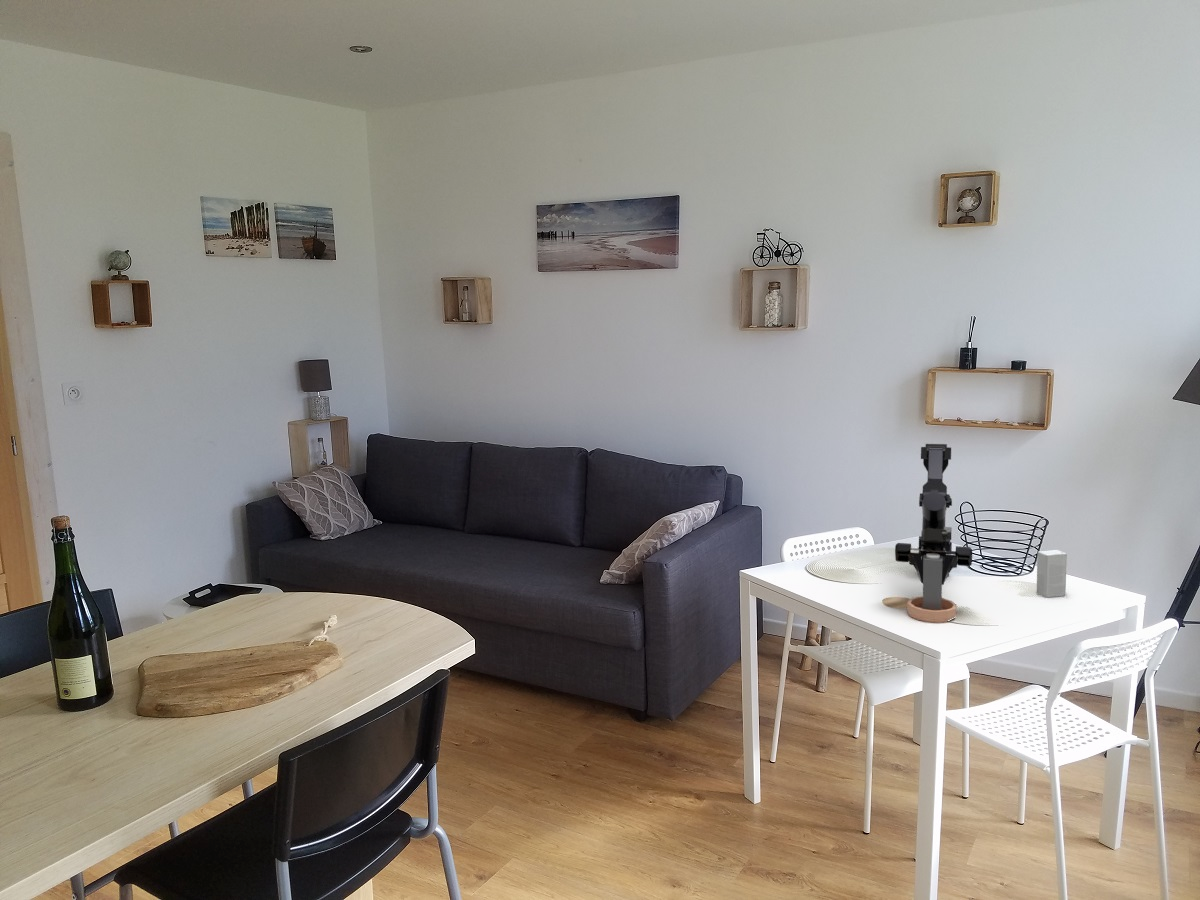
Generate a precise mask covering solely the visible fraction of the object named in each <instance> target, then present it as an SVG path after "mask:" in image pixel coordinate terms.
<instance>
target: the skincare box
mask: <svg viewBox="0 0 1200 900" xmlns="http://www.w3.org/2000/svg"><path fill="white" fill-rule="evenodd" d="M1067 555H1068V553H1066V552H1064V551H1061V550H1059V549H1052V550H1050V549H1049V550H1041V551H1040V550H1039V551H1037V556H1036V557H1037V561H1036V562H1037V563H1036V564H1037V566H1036V594H1037V593H1038V594H1037V595H1039V594H1040V596H1041V595H1042V596H1041V597H1043V598H1045V599H1046V598H1047V597H1048V598H1056V597H1061V596H1062V597H1064V596H1066V593H1067V591H1066V590H1067V586H1066V585H1067V566H1068V565H1067V562H1068V561H1067V559H1068V556H1067Z"/></svg>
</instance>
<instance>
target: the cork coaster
mask: <svg viewBox="0 0 1200 900" xmlns="http://www.w3.org/2000/svg"><path fill="white" fill-rule="evenodd" d="M909 599H910V598H908V597H903V596H891V597H885V598H883V599H882V601H881V603H882V604H883V605H884V606H886V607H889V608H891V609H892V608H893V609H900V610H901V609H903V610H905V609H906V610H907V603H908V601H909Z"/></svg>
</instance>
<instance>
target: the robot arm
mask: <svg viewBox="0 0 1200 900" xmlns="http://www.w3.org/2000/svg"><path fill="white" fill-rule="evenodd" d="M920 460H923V461H922V462H923V463H922V464H923V467H924V468H925V470H926V472H927V479H926V480H927V481H926V482H925V483H924V484H923V485H922V493H919V498H918V499H919V501H918V506H919V507H921V510H922V524H921V528H922V529H921V532H920V533H921V534H920V535H919V536H918V547H912V543H907V542H906V543H905V542H897V543H895V546H894V547H895V548H894V554H895V555H894V556H895V561H896V562H898V563H899V562H900V563H908V565H910V566H913V568H914V569H915V571H916V572H917V576H918V578H919V580H920V583H921V584H923V560H924V555H926V554H927V553H937V554H939V555H940V556H942V586H943V585H944V584H945V582H946V580H947V578H948V577H949V576H950V573H951V571H952V570H953V569H957V568H958V566H962V567H971V566H972V562H973V549H972V548H971V546H961V545H960V546H957V545H956V546H955V550H953V548H952V547H953V544H952V542H951V541H952V527H951V526H946V513H947V509H950V506H953V498H951V496H950V494H948V486H947V485H946V484H945V483H944V482H943V480H944V479H943V477H944V475H943V474H944V472H945V471H946V470H947V468H948V467H949V461H950V460H952V447H948V444H947V443H925V446H920Z"/></svg>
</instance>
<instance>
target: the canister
mask: <svg viewBox="0 0 1200 900" xmlns="http://www.w3.org/2000/svg"><path fill="white" fill-rule="evenodd" d="M942 587H943V585H942V556H940V555H939V554H937V553H927V554H926V555H924V560H923V583H922V597H923V608H925V609H937V610H941V600H942V598H943V597H942V594H943V592H942V589H943V588H942Z"/></svg>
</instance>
